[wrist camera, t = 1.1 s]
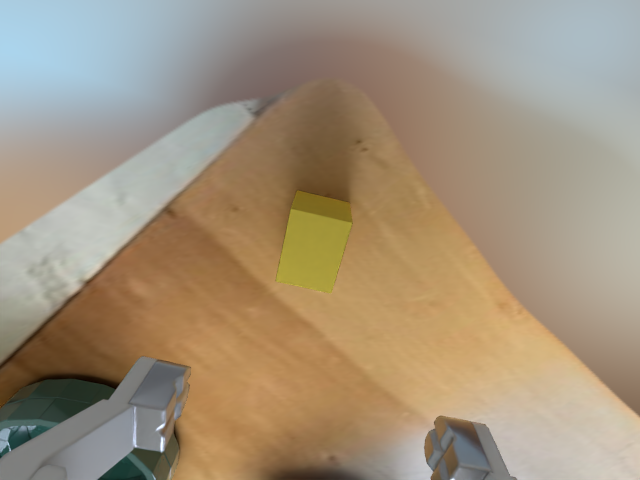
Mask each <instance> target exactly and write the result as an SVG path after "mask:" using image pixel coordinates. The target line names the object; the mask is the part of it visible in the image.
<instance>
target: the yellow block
mask: <svg viewBox="0 0 640 480" xmlns="http://www.w3.org/2000/svg"><path fill="white" fill-rule="evenodd" d="M352 224H353V222H352V215H351V208H350V203H349V202H345V201H340V200H336V199H332V198H328V197H324V196H319V195H315V194H311V193H307V192H303V191H298V190H297V191H296V194H295V197H294V200H293V203H292V206H291V209H290V214H289V219H288V224H287V228H286V233H285V238H284V243H283V247H282V252H281V257H280V262H279V266H278V271H277V276H276V282H281V283H285V284H290V285H294V286H299V287H303V288H308V289H313V290H317V291H322V292H326V293H332V290H333V286H334V283H335V280H336V276H337V273H338V270H339V266H340V263H341V260H342V257H343V253H344V250H345V247H346V243H347V240H348V237H349V233H350V230H351V227H352Z"/></svg>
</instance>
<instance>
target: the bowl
mask: <svg viewBox="0 0 640 480" xmlns="http://www.w3.org/2000/svg"><path fill="white" fill-rule="evenodd" d="M115 390H116V389H114V388H111V387H109V386H107V385H103V384H98V383H93V382H88V381H82V380H77V379H51V380H43V381H40V382H37V383H34V384H31V385H28V386H25V387H22V388H21V389H20V390H19V391H18V392H17V393H16V394H15V395H14V396H12V397H11V398H10V399H9V400H8V401H7V402H6V403H5V404H4V405H3V406H2V407H1V408H0V459H1V458H2V457H3V455H4V454H6V453H8V452H10V451H12V450H13V449H15V448H17V447H19V446H20V445H22V444H24V443H26V442H28V441H29V440H31V439H33V438H35V437H37V436H38V435H40V434H42V433H44V432H46V431H47V430H49V429H51V428H53V427H54V426H56V425H58V424H60V423H62V422H63V421H65V420H67V419H69V418H71V417H72V416H74V415H76V414H78V413H80V412H81V411H83V410H85V409H87V408H89V407H90V406H92V405H94V404H96V403H97V402H99V401H101V400H103V399H105V400H109V399H110V397H111V396H112V394H113V393H114V392H115ZM178 459H179V446H178V443H177V441H176V438H175V436H174V433H172V435H171V437H170V439H169V441H168V443H167V446H166V448H165V450H164V452H160V451H153V450H147V449H140V448H133V450H132V451H131V452H130V453H129V454H127V455H126V456H125V457H124V458H123V459H121V460H120V461H119V462H118V463H116V464H115V465H114V466H113V467H112V468H110V469H109V470H108V471H107V472H106V473H104V474H103V475H102V476H101V477H100V478H98V479H97V480H172V477H173V475H174V473H175V470H176V468H177V465H178Z"/></svg>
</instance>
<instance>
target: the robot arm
mask: <svg viewBox="0 0 640 480" xmlns="http://www.w3.org/2000/svg"><path fill="white" fill-rule="evenodd" d="M190 375H191V367H190V366H186V365H181V364H177V363H172V362H168V361H163V360H159V359H154V358H149V357H144V356H142V357H141V358H139V359H138V360H137V361H136V363H135V364H134V365H133V367H132V368H131V369H130V371H129V372H128V374H127V375H126V376H125V378H124V379H123V381H122V382H121V383H120V385H119V386H118V387H117V389H116V390H115V392H114V393H113V394H112V396H111V397H110V399H109V400H105V399H103V400H101V401H99V402H97V403H96V404H94V405H92V406H90V407H89V408H87V409H85V410H83V411H81V412H80V413H78V414H76V415H74V416H72V417H71V418H69V419H67V420H65V421H63V422H62V423H60V424H58V425H56V426H54V427H53V428H51V429H49V430H47V431H46V432H44V433H42V434H40V435H38V436H37V437H35V438H33V439H31V440H29V441H28V442H26V443H24V444H22V445H20V446H19V447H17V448H15V449H13V450H12V451H10V452H8V453H6V454H4V455H3V457H2V458H1V459H0V480H97V479H98V478H100V477H101V476H102V475H103V474H104V473H106V472H107V471H108V470H109V469H110V468H112V467H113V466H114V465H115V464H116V463H118V462H119V461H120V460H121V459H123V458H124V457H125V456H126V455H127V454H129V453H130V452H131V451H132V450H133V448H140V449H147V450H153V451H160V452H164V450H165V448H166V446H167V443H168V441H169V439H170V437H171V435H172V433H173V431H174V421H175V420H176V419H177V418H179V417H180V416H181V413H182V411H183V409H184V406H185V404H186V401H187V398H188V393H189V386H190V385H189V383H188V382H187V381H188V379H189V377H190ZM434 425H435V429H433V430H431V431H429V432H428V434H427V436H426V439H425V446H424V449H425V457H426V462H427V464H428V465H429V467H430V468H431V469H432V470H433V474H432V476H431V480H517V479H516V478H515V477H512V476H510V474H509V472H508V470H507V468H506V465H505V463H504V461H503V459H502V457H501V454H500V452H499V450H498V448H497V446H496V444H495V441H494V439H493V437H492V435H491V433H490V431H489V428H488V427H487V426H486V425H485V424H481V423H476V422H471V421H467V420H462V419H456V418H451V417H446V416H439V417H437V418H436V420H435V422H434Z"/></svg>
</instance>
